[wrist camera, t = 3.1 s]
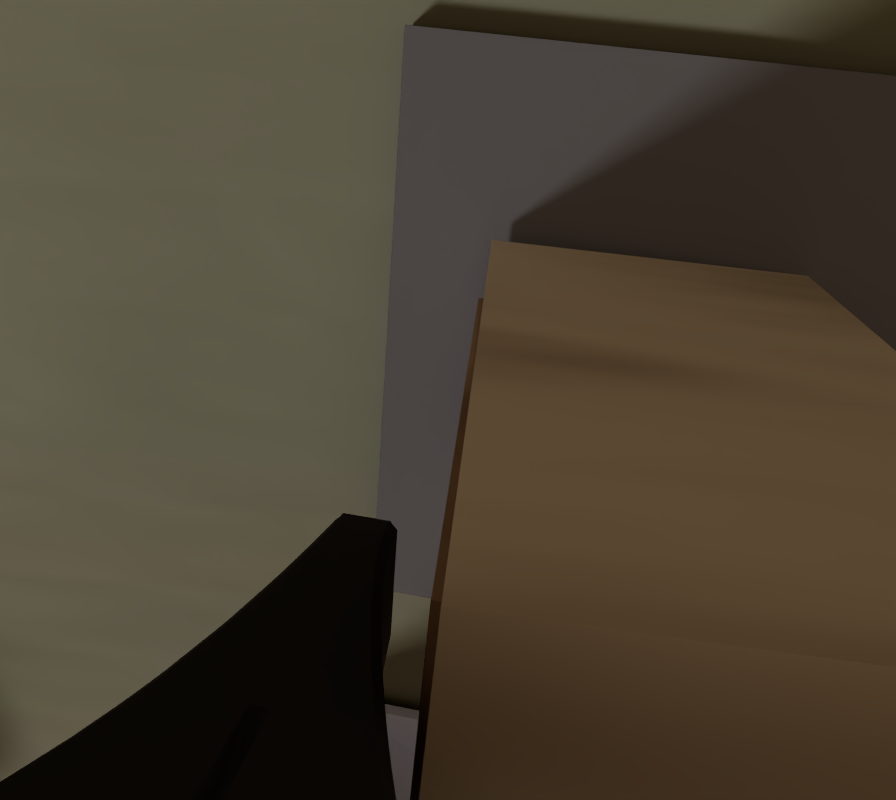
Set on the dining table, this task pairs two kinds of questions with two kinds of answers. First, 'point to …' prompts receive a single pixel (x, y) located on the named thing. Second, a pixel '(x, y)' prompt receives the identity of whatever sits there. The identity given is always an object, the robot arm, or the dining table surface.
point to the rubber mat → (608, 204)
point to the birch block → (664, 541)
